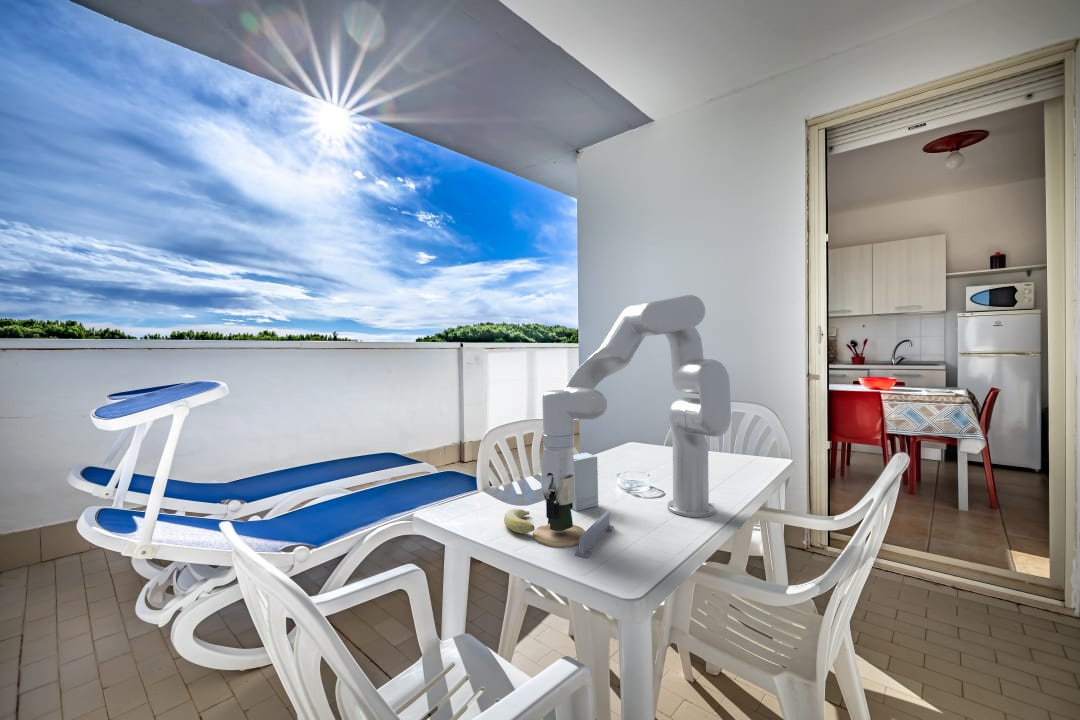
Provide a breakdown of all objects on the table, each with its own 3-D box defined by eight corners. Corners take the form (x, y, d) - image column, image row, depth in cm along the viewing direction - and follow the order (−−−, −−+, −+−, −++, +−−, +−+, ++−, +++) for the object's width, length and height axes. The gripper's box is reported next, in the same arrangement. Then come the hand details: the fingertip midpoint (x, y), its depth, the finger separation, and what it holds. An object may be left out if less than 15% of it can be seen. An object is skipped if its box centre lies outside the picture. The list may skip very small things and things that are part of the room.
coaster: (547, 522, 119) (547, 519, 119) (593, 530, 113) (593, 527, 113) (523, 541, 108) (523, 538, 108) (573, 551, 102) (573, 548, 102)
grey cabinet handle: (602, 526, 116) (602, 510, 116) (613, 528, 115) (613, 512, 115) (574, 555, 100) (574, 537, 100) (587, 557, 98) (587, 539, 98)
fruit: (505, 538, 108) (504, 525, 108) (503, 517, 123) (502, 505, 123) (535, 535, 109) (534, 521, 109) (529, 514, 124) (528, 502, 124)
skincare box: (587, 500, 136) (586, 451, 136) (599, 506, 131) (598, 455, 130) (563, 505, 132) (563, 455, 132) (575, 512, 127) (574, 459, 126)
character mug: (538, 523, 114) (537, 472, 114) (563, 518, 117) (562, 468, 117) (556, 539, 104) (556, 483, 104) (583, 533, 107) (583, 479, 107)
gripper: (559, 433, 119) (560, 500, 120) (528, 446, 104) (529, 523, 104) (586, 435, 116) (587, 504, 116) (557, 449, 101) (559, 528, 101)
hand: (559, 512), depth 110 cm, fingers closed on character mug, 7 cm apart
